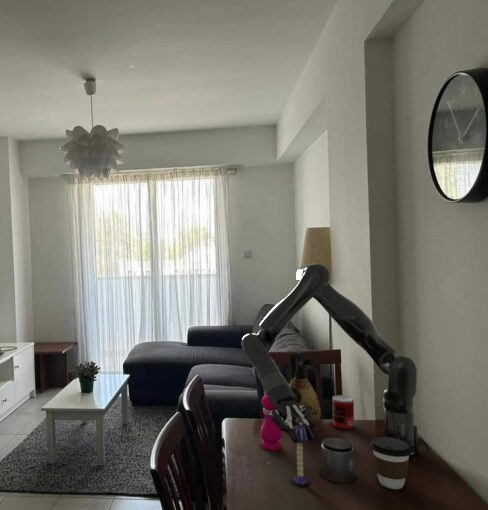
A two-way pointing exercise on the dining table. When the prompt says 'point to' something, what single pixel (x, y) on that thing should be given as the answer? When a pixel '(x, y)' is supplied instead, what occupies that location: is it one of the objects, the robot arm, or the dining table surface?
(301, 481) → the toy lamp
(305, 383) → the ceramic jug
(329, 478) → the grey metal canister
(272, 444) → the pepper mill
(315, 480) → the dining table surface
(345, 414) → the canned food
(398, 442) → the coffee cup
